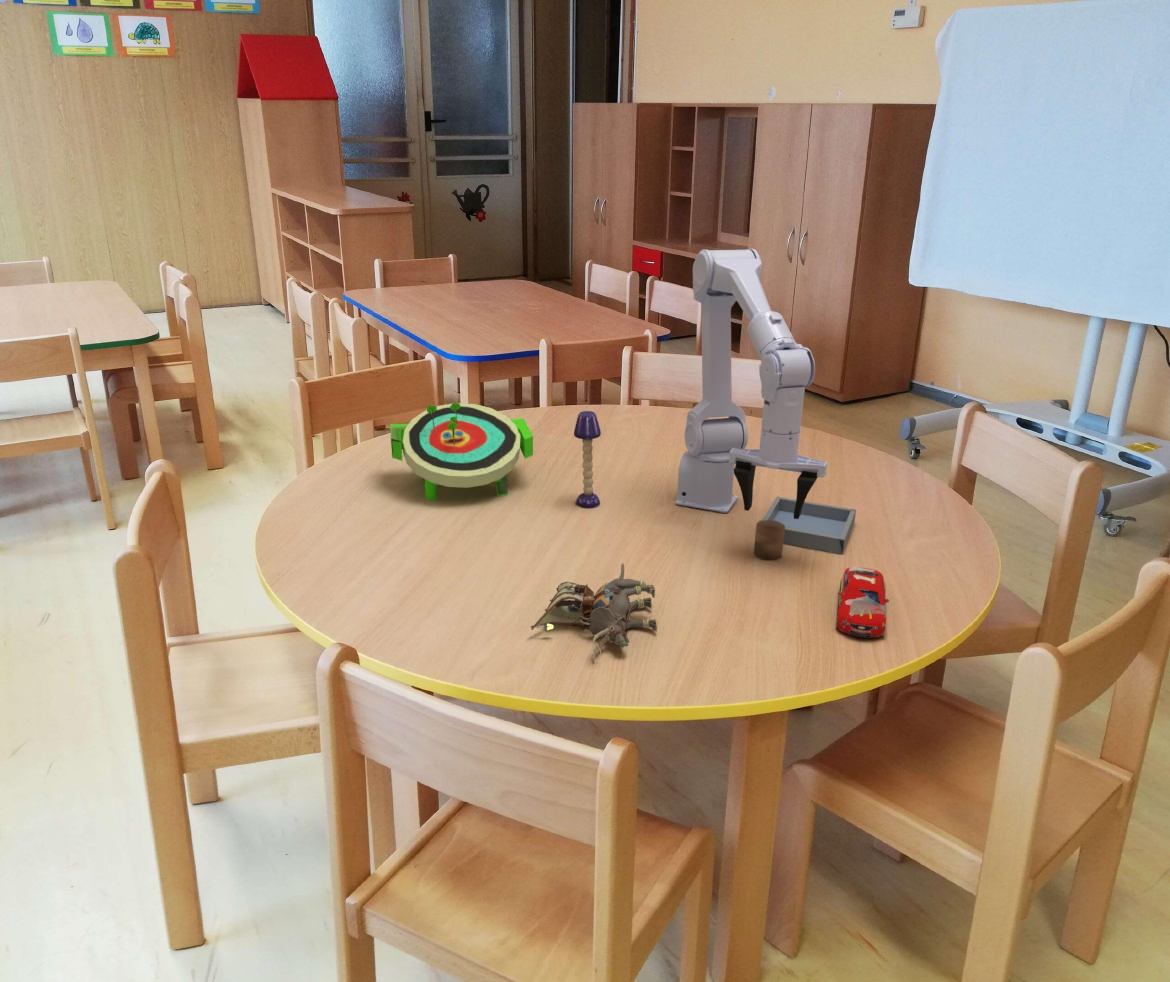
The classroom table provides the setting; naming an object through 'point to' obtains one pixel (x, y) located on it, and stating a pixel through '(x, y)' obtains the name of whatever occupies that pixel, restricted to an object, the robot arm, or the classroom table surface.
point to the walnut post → (769, 540)
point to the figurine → (599, 609)
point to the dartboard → (461, 446)
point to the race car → (862, 603)
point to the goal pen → (813, 524)
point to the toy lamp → (587, 456)
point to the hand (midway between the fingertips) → (772, 512)
